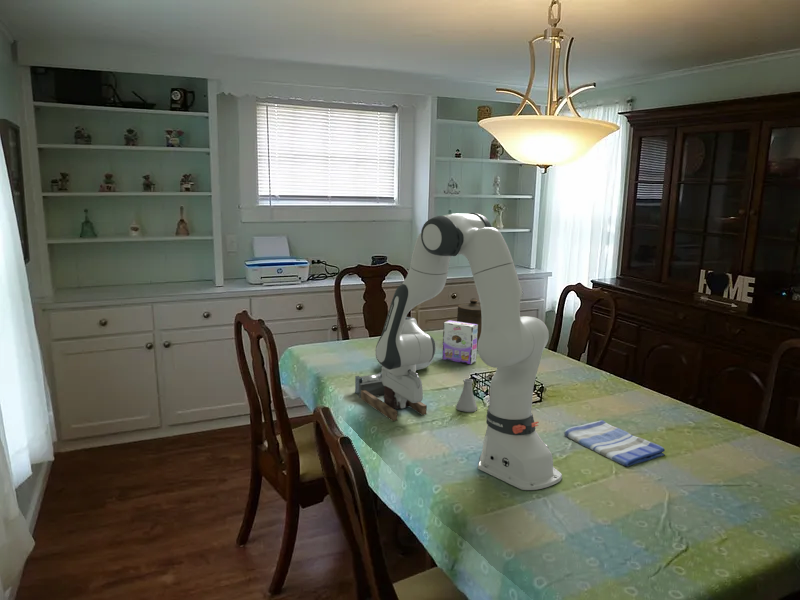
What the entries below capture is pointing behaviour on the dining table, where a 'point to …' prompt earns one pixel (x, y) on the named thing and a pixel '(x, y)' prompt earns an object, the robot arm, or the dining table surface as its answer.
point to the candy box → (460, 342)
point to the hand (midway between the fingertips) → (401, 406)
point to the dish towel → (614, 443)
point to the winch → (366, 380)
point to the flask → (467, 398)
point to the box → (391, 398)
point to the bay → (377, 388)
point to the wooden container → (471, 314)
